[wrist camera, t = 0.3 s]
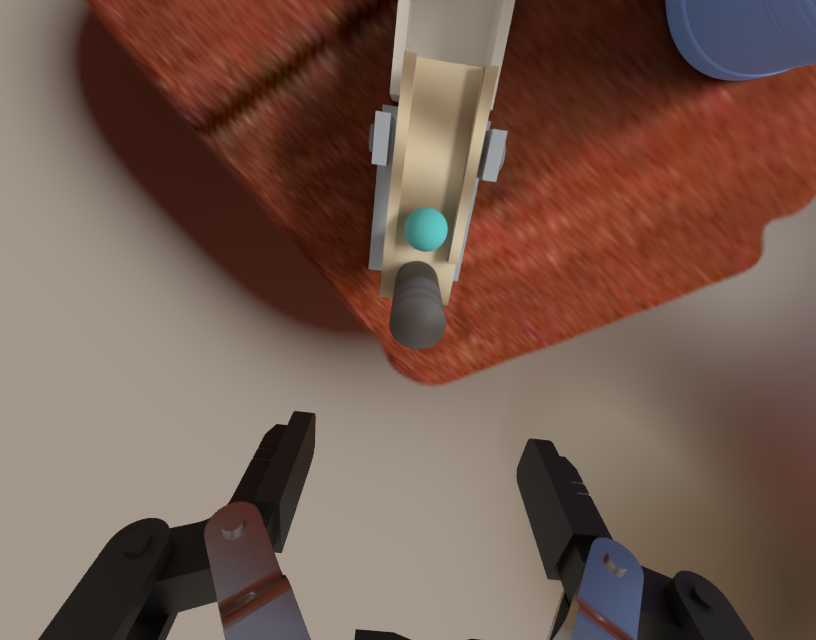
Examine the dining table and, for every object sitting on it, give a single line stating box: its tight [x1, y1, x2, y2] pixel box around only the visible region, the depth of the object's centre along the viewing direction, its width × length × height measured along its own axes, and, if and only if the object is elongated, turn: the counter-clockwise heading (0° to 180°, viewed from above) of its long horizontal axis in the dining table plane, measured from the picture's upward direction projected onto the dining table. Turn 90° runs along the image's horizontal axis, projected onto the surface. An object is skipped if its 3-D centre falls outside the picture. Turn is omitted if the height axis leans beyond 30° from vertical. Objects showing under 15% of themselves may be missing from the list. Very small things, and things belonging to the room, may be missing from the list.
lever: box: [379, 51, 499, 349], centre depth 23 cm, size 17×6×9 cm, turn 172°
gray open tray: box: [390, 0, 515, 111], centre depth 26 cm, size 10×8×4 cm
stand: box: [369, 105, 508, 281], centre depth 30 cm, size 15×10×9 cm, turn 172°
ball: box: [404, 207, 448, 252], centre depth 25 cm, size 3×3×3 cm
